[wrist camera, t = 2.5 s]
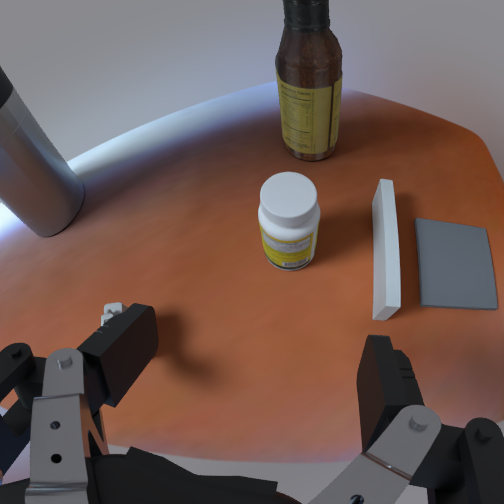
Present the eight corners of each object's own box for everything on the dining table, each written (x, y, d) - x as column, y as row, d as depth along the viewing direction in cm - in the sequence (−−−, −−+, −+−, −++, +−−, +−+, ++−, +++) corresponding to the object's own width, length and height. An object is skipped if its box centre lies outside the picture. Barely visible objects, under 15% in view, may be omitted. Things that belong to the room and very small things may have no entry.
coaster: (420, 306, 25) (422, 304, 24) (414, 220, 29) (416, 217, 28) (494, 310, 23) (497, 308, 23) (483, 231, 27) (485, 228, 27)
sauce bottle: (313, 122, 36) (314, -29, 19) (347, 150, 34) (366, -14, 16) (270, 142, 35) (252, -21, 18) (302, 174, 33) (301, -9, 15)
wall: (372, 319, 25) (385, 305, 21) (371, 203, 30) (380, 178, 26) (385, 320, 25) (400, 307, 21) (382, 204, 30) (392, 180, 26)
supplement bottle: (283, 217, 30) (280, 157, 23) (325, 242, 29) (335, 185, 21) (253, 254, 29) (240, 200, 21) (296, 282, 27) (298, 234, 20)
